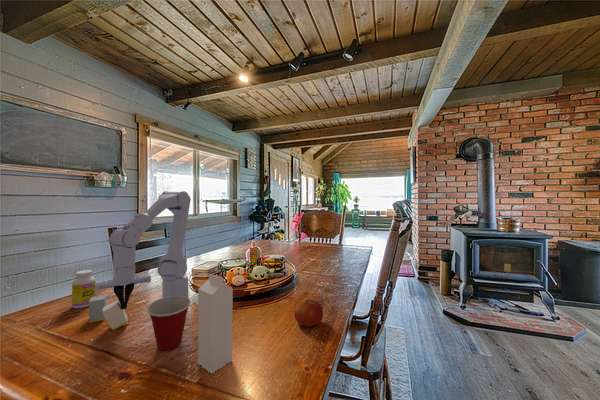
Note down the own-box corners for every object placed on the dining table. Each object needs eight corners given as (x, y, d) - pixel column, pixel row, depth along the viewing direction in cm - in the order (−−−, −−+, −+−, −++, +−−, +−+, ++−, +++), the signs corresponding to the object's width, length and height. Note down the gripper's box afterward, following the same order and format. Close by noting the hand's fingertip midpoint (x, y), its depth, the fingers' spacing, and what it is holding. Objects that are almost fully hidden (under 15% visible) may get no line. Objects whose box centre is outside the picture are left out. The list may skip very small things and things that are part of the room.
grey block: (106, 314, 85) (106, 294, 85) (104, 319, 82) (104, 299, 82) (91, 317, 83) (91, 297, 83) (89, 322, 80) (89, 301, 79)
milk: (218, 352, 65) (219, 270, 65) (232, 361, 61) (233, 275, 61) (197, 364, 60) (198, 276, 60) (211, 375, 57) (212, 281, 57)
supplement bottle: (81, 309, 88) (81, 274, 88) (67, 308, 90) (67, 273, 90) (99, 302, 95) (99, 269, 95) (86, 300, 96) (86, 268, 96)
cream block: (128, 317, 80) (118, 299, 79) (127, 322, 77) (117, 304, 76) (114, 324, 78) (103, 306, 77) (112, 330, 75) (102, 311, 74)
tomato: (290, 327, 78) (290, 302, 78) (300, 314, 86) (300, 292, 86) (317, 333, 74) (317, 308, 74) (325, 319, 83) (325, 296, 83)
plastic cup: (142, 362, 60) (143, 315, 60) (150, 339, 70) (150, 298, 70) (190, 352, 65) (190, 307, 65) (190, 331, 75) (191, 293, 75)
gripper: (93, 272, 71) (92, 319, 71) (151, 265, 79) (150, 307, 79) (96, 267, 77) (96, 309, 77) (150, 260, 85) (150, 299, 85)
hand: (124, 307), depth 78 cm, fingers closed
